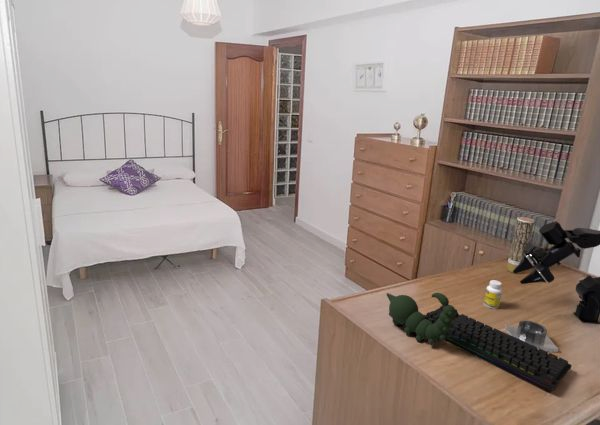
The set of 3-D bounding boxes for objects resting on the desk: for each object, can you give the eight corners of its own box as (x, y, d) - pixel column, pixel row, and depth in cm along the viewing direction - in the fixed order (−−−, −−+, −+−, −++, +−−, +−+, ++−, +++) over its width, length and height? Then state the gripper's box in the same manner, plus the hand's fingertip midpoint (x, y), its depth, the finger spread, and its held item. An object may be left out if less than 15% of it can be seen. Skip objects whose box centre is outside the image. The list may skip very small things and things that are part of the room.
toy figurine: (451, 349, 136) (391, 310, 154) (466, 298, 129) (401, 263, 147) (433, 360, 130) (373, 317, 148) (448, 307, 124) (383, 269, 141)
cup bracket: (540, 331, 147) (543, 319, 145) (557, 352, 135) (561, 339, 134) (504, 328, 147) (507, 316, 146) (518, 348, 136) (521, 335, 135)
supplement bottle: (480, 303, 164) (484, 280, 161) (490, 301, 166) (495, 278, 163) (491, 310, 159) (496, 286, 156) (501, 307, 161) (507, 284, 159)
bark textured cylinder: (524, 275, 192) (536, 222, 185) (508, 273, 193) (519, 220, 186) (520, 269, 198) (531, 217, 191) (504, 267, 200) (515, 216, 192)
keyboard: (569, 373, 126) (573, 358, 125) (550, 397, 116) (554, 381, 114) (440, 313, 156) (442, 301, 154) (415, 328, 145) (417, 315, 144)
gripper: (534, 228, 161) (497, 252, 166) (552, 245, 143) (510, 271, 148) (552, 250, 162) (514, 273, 167) (572, 270, 144) (529, 295, 149)
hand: (517, 277), depth 158 cm, fingers open, 9 cm apart
